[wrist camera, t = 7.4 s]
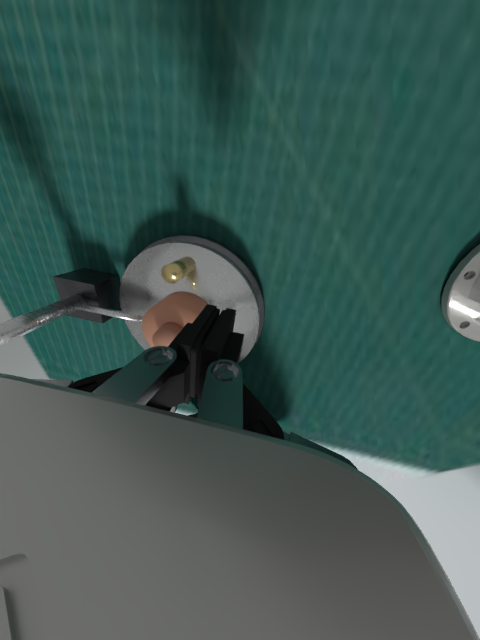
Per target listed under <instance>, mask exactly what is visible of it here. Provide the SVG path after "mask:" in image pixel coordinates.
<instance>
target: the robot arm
mask: <svg viewBox="0 0 480 640" xmlns="http://www.w3.org/2000/svg"><path fill="white" fill-rule="evenodd" d="M441 309H442V313H443V316H444V318H445V320H446V321H447V323H448V324H449V325H450V326H451V327H452V328H453V329H454V330H455V331H457V332H459V333H460V334H462V335H464V336H465V337H467V338H470V339H472V340H475V341H480V244H479V245H478V246H476V247H475V248H474V249H473V250H471V251H470V252H469V253H468V255H467V256H466V257H465V258H464V259H463V260H462V261H461V262H460V263H459V264H458V265H457V267H456V268H455V270H454V271H453V272H452V274H451V275H450V277H449V279H448V281H447V283H446V285H445V287H444V291H443V294H442V300H441ZM235 316H236V310H234V309H229V308H226V310H222V311H221V313H220V309H217V306H214V305H209V304H207V305H206V306H205V307H204V309H203V310H202V311H201V313H200V314H199V315H198V316H197V318H196V319H195V320H194V322H193V323H187V324H186V325H185V326H184V327H183V329H182V330H181V331H180V332H179V334H178V335H177V336H176V337H175V338H174V340H173V341H172V342H171V343H170V345H169V346H168V347H167V346H155V347H151V348H149V349H147V350H145V351H144V352H142V353H141V354H140V355H139V356H137V357H136V358H135V359H133V360H132V361H131V362H130V363H128V364H127V365H126V366H125V367H122V368H119V369H115V370H112V371H108V372H105V373H101V374H98V375H94V376H91V377H87V378H84V379H81V380H78V381H76V382H74V383H73V380H42V379H27V378H23V377H17V376H13V375H7V374H1V373H0V640H480V639H479V637H478V635H477V633H476V631H475V629H474V627H473V625H472V623H471V620H470V618H469V617H468V615H467V613H466V611H465V609H464V607H463V605H462V603H461V601H460V599H459V598H458V595H457V594H456V592H455V590H454V588H453V586H452V584H451V582H450V580H449V578H448V576H447V575H446V573H445V571H444V569H443V568H442V566H441V564H440V562H439V561H438V559H437V557H436V555H435V553H434V551H433V550H432V548H431V546H430V544H429V543H428V541H427V539H426V538H425V536H424V535H423V533H422V531H421V530H420V528H419V527H418V525H417V524H416V523H415V521H414V520H413V518H412V517H411V516H410V514H409V513H408V512H407V511H406V509H405V508H404V507H403V505H402V504H401V503H400V502H399V501H398V500H397V499H396V498H395V497H393V495H391V494H390V493H389V492H388V491H387V490H385V489H384V488H383V487H382V486H381V485H379V484H378V483H377V482H375V481H374V480H373V479H371V478H370V477H368V476H367V475H365V474H363V473H362V472H360V471H359V470H358V469H357V468H356V467H355V466H354V465H353V464H352V462H351V461H350V460H348V459H346V458H345V457H343V456H342V455H339V454H337V453H335V452H333V451H331V450H329V449H327V448H324V447H322V446H320V445H318V444H316V443H314V442H312V441H309V440H307V439H305V438H303V437H301V436H299V435H297V434H294V433H292V432H291V433H290V434H287V433H285V432H283V431H282V429H281V427H280V426H279V424H278V423H277V422H276V421H275V420H274V418H273V417H272V416H271V415H270V414H269V413H268V411H267V410H266V409H265V408H264V407H263V406H262V405H261V403H260V402H259V401H258V400H257V399H256V398H255V397H254V395H253V394H252V393H251V392H250V391H249V390H248V389H247V387H246V386H245V385H244V384H243V376H242V369H241V367H240V366H239V365H238V363H239V359H240V355H241V350H242V345H243V339H244V334H241V333H236V332H233V329H234V322H235ZM197 393H198V404H197V405H198V407H199V410H198V415H197V418H195V417H190V416H186V415H182V414H178V413H175V411H176V409H177V405H178V404H181V403H187V404H189V402H190V400H191V398H192V397H194V398H195V397H196V395H197Z"/></svg>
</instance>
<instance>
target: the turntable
mask: <svg viewBox="0 0 480 640" xmlns="http://www.w3.org/2000/svg"><path fill="white" fill-rule="evenodd" d="M178 291H185V292H190V293H193V294H196V295H198V296H199V297H201V298H202V299H204V300H205V301H206V302H207V303H208V304H209V305H214V306H217V309H220V313H221V311H222V310H226V308H229V309H234V310H236V316H235V322H234V329H233V332H236V333H241V334H244V339H243V345H242V350H241V355H240V359H239V362H241V361H242V360H243V359H244V358H245V357H246V356H247V355H248V353H249V352H250V351H251V349H252V347H253V345H254V343H255V341H256V338H257V335H258V328H259V322H260V310H259V303H258V299H257V296H256V293H255V291H254V288H253V286H252V284H251V283H250V281H249V279H248V278H247V276H246V275H245V274H244V272H243V271H242V270H241V269H240V268H239V267H238V266H237V265H236V264H235V263H234V262H233V261H232V260H231V259H229V258H228V257H227V256H225V255H224V254H222V253H221V252H219V251H217V250H215V249H213V248H211V247H208V246H206V245H203V244H199V243H195V242H187V241H177V242H169V243H164V244H160V245H157V246H154V247H151V248H148V249H147V250H145V251H143V252H142V253H140V254H139V255H138V256H137V257H135V258H134V259H133V260H132V262H131V263H130V264H129V265H128V267H127V269H126V270H125V272H124V275H123V278H122V280H121V285H120V306H121V310H122V312H127V313H132V314H136V315H141V316H144V315H145V313H146V312H147V311H148V310H149V309H150V308H151V307H153V306H154V305H155V304H157V303H158V302H159V301H161V300H162V299H164V298H165V297H166V296H168V295H169V294H171V293H174V292H178ZM124 320H125V319H124ZM125 322H126V324H127V326H128V328H129V330H130V332H131V333H132V335H133V336H134V338H135V339H136V340H137V341H138V343H139V344H140V345H141V346H142V347H143V348H144V349H145V350H147V349H149V348H151V346H150V345H149V343H148V342H147V340H146V339H145V337H144V334H143V330H142V323H139V322H134V321H130V320H125Z"/></svg>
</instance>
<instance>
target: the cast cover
mask: <svg viewBox="0 0 480 640" xmlns="http://www.w3.org/2000/svg"><path fill="white" fill-rule="evenodd" d="M207 304H208V303H207V302H206V301H205V300H204V299H202V298H201V297H199V296H198V295H196V294H193V293H190V292H185V291H178V292H174V293H171V294H169V295H168V296H166V297H165V298H164V299H162V300H161V301H159V302H158V303H157V304H155V305H154V306H153V307H151V308H150V309H149V310H148V311H147V312H146V313H145V315H144V317H143V320H142V330H143V334H144V337H145V339H146V340H147V342H148V343H149V345H150V346H151V347H155V346H167V347H168V346H169V345H170V343H171V342H172V341H173V340H174V338H175V337H176V336H177V335H178V334H179V332H180V331H181V330H182V329H183V327H184V326H185V325H186V324H187V323H193V322H194V320H195V319H196V318H197V316H198V315H199V314H200V313H201V311H202V310H203V309H204V307H205V306H206V305H207Z"/></svg>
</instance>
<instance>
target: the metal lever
mask: <svg viewBox="0 0 480 640" xmlns="http://www.w3.org/2000/svg"><path fill="white" fill-rule="evenodd" d="M53 277H54V280H55V283H56V287H57V290H58V293H59V296H60V299H61V300H60V301H57V302H55V303H52V304H50V305H47V306H44V307H42V308H39V309H37V310H34V311H31V312H29V313H26V314H24V315H21V316H19V317H16V318H13V319H11V320H8V321H6V322H3V323H1V324H0V346H1V345H3V344H5V343H7V342H9V341H12V340H14V339H16V338H18V337H20V336H22V335H24V334H27V333H29V332H31V331H33V330H35V329H37V328H39V327H42V326H44V325H46V324H48V323H50V322H52V321H54V320H57V319H59V318H61V317H63V316H65V315H67V316H72V317H77V318H81V319H86V320H90V321H95V322H99V323H104V322H106V321H107V320H109V319H110V318H112V317H116V318H121V319H125V320H130V321H134V322H139V323H142V320H143V317H144V316H141V315H136V314H132V313H127V312H122V310H121V306H120V278H119V275H114V274H109V273H104V272H99V271H94V270H89V269H84V268H83V269H80V270H76V271H72V272H68V273H65V274H61V275H57V276H53Z"/></svg>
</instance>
